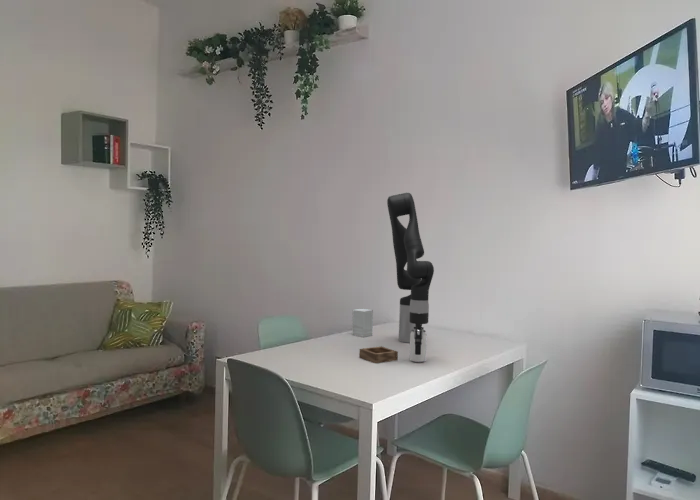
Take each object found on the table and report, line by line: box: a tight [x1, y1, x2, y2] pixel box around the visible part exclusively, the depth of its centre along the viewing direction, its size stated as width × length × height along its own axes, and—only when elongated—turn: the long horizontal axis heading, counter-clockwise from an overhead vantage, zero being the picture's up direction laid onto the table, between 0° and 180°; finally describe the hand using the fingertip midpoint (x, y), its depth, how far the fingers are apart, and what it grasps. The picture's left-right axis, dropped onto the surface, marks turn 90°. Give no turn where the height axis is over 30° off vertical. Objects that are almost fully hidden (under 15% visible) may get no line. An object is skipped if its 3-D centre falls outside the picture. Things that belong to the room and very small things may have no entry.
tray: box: [358, 345, 399, 364], centre depth 225 cm, size 11×11×4 cm
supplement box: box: [351, 308, 374, 338], centre depth 273 cm, size 7×7×13 cm
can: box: [409, 329, 427, 363], centre depth 223 cm, size 6×6×12 cm
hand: (417, 352), depth 223 cm, fingers closed on can, 6 cm apart
